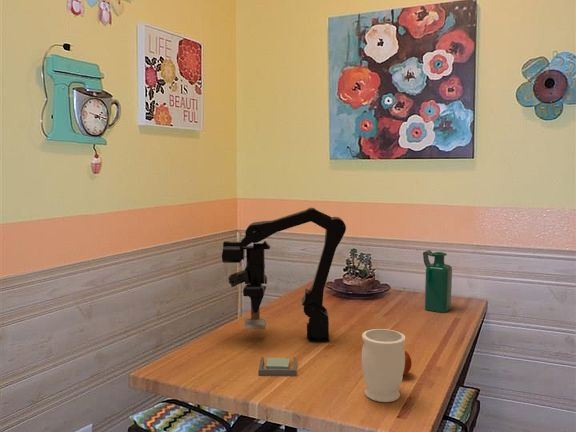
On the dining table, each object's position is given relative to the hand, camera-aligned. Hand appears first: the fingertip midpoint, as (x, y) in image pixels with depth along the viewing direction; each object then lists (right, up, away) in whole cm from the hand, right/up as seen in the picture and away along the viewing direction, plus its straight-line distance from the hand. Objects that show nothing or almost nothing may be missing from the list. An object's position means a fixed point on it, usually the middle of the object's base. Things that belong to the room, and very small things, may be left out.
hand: (256, 311), depth 169 cm
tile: (+7, -12, -23) cm, 27 cm away
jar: (+33, -14, -39) cm, 53 cm away
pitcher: (+66, -5, +34) cm, 75 cm away
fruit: (+39, -12, -28) cm, 50 cm away
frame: (+7, -12, -23) cm, 27 cm away
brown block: (0, -5, 0) cm, 5 cm away
